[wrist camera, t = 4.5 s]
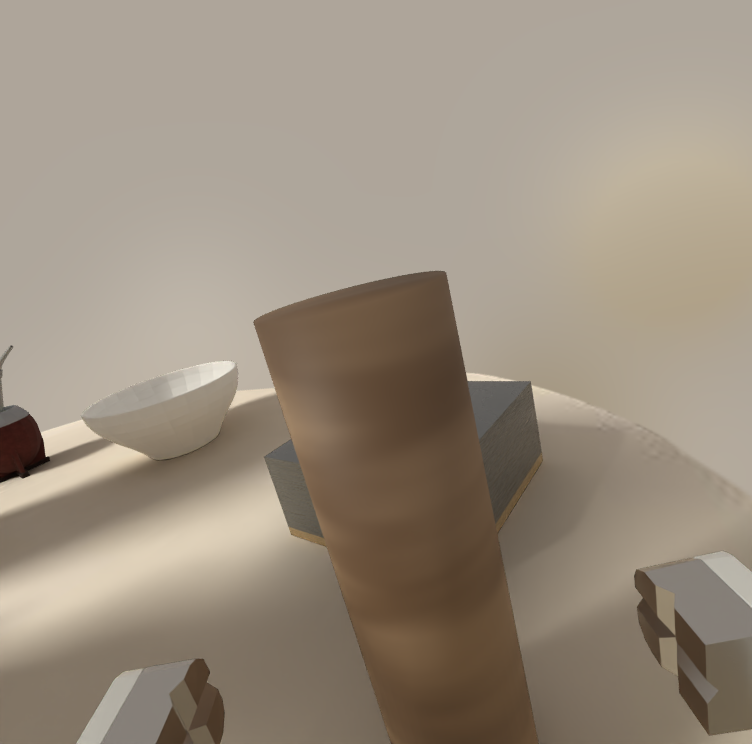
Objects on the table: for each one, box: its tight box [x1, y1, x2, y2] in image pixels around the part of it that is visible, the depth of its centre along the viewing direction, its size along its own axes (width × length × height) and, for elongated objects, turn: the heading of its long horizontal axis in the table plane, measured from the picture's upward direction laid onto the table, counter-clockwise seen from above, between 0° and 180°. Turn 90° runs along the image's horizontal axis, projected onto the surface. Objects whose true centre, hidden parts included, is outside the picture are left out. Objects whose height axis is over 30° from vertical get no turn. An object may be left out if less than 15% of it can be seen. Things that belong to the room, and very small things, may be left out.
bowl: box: [81, 361, 238, 460], centre depth 49 cm, size 16×16×7 cm
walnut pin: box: [254, 271, 538, 744], centre depth 12 cm, size 4×4×15 cm
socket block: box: [264, 381, 543, 547], centre depth 28 cm, size 12×12×6 cm
